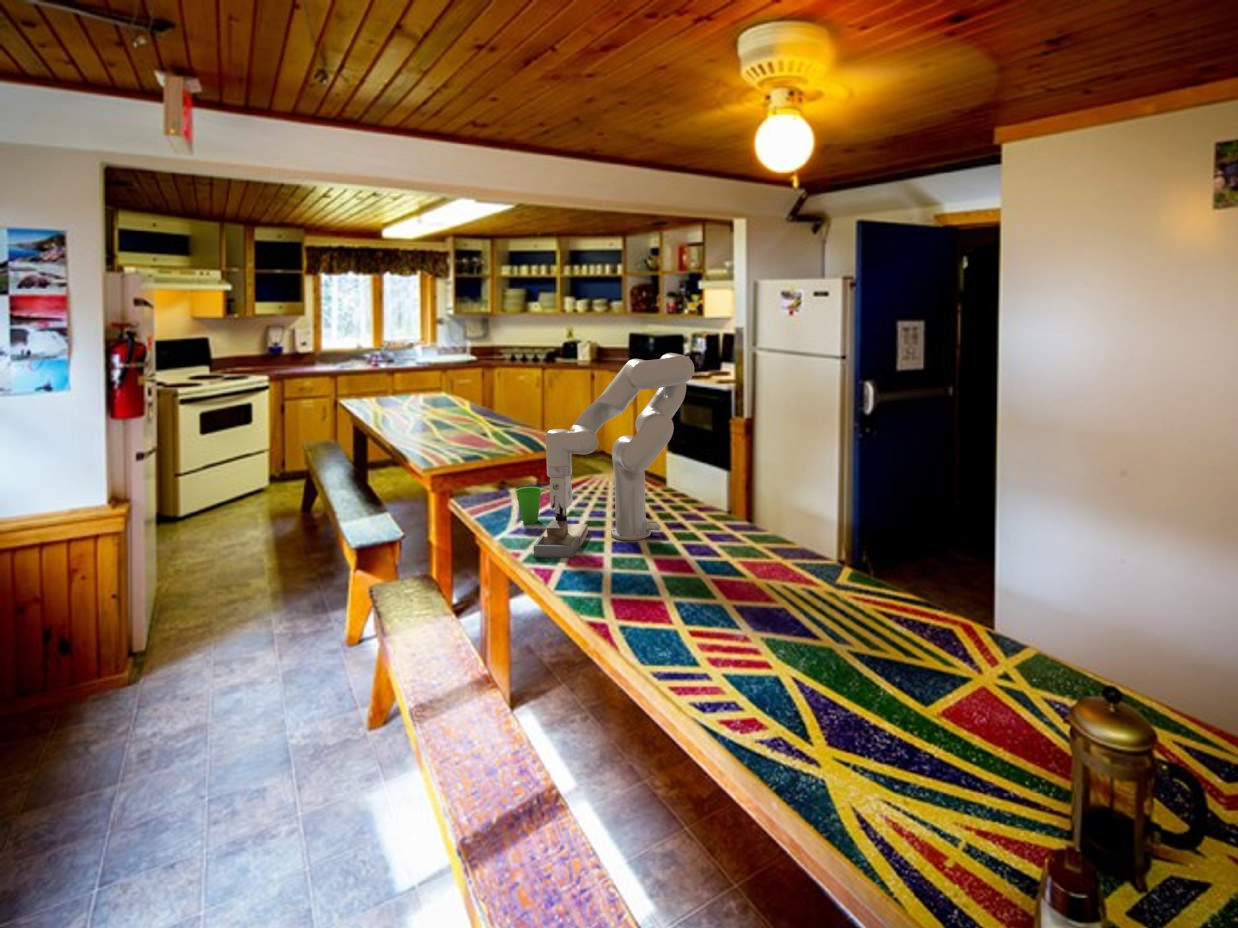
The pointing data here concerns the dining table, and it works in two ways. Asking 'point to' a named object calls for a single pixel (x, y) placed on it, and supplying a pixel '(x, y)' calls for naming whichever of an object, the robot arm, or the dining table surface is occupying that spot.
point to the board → (569, 535)
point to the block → (557, 530)
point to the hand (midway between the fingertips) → (561, 527)
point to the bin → (555, 549)
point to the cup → (529, 503)
